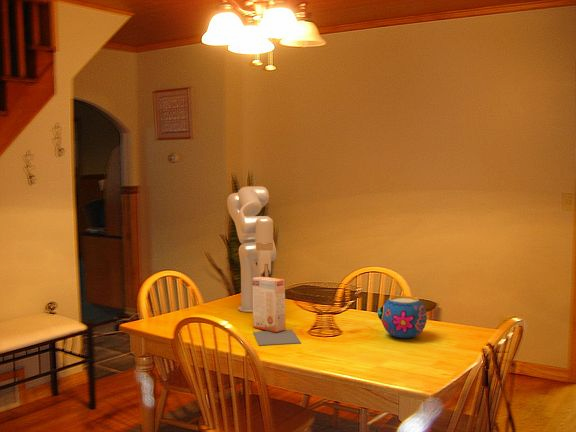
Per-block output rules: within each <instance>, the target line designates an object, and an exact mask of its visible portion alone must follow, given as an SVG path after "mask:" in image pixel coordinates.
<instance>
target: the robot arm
mask: <svg viewBox="0 0 576 432" xmlns="http://www.w3.org/2000/svg"><path fill="white" fill-rule="evenodd" d="M269 201H270V193H269V191H268V189H267V188H266V187H265V186H260V185H257V186H254V185H253V186H248V185H247V186H243V187H241V188H239V189H238V192H233V193H231V194H229V196H227V199H226V203H227V211H228V213H229V215H230V217H231V219H232V220H233V222H234V225H235V228H236V235H237V238H238V240H239V243H240V246H239V247H238V257H239V264H240V294H241V295H240V298H241V299H240V301H241V302H240V303H241V305H238V307H237V310H238V311H240V312H243V313H253V278H255V277H269V278H270V274H271V272H272V262H273V261H275V260H276V258H277V248H276V244H275V241H274V220H273V218H271V217H270V216H268V215H265V216H264V215H260V216H259V213H260V212H261V210H262V208H264V207H265V206H266V205H267V204H268V203H269Z"/></svg>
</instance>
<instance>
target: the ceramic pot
mask: <svg viewBox="0 0 576 432" xmlns="http://www.w3.org/2000/svg"><path fill="white" fill-rule="evenodd" d="M377 317H378V319H379V320H380V322H381V323H382V326H383V327H384V330H385V331H386V332H387V333H388V334H390V336H393V337H396V338H400V339H411V338H414V337H417V336H419V335H420V334H421V333H422V332H423V331H424V329H425V327H426V324H427V319H428V315H427V309H426V307H425V305H424V304H423V301H421V300H420V298H418V297H414V296H410V295H409V296H408V295H407V296H406V295H397V296H391V297H389V298H388V299H387V300H386V301H385V302H384V304H383V305H382V306H380V307H379V308H378V310H377Z"/></svg>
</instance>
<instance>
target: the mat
mask: <svg viewBox="0 0 576 432" xmlns="http://www.w3.org/2000/svg"><path fill="white" fill-rule="evenodd" d="M252 333H253V336H254V338H255V341H256V342H257V345H258V346H259V347H262V346H263V347H264V346H281V345H283V346H284V345H297V344H302V341H301V340H300V339H299V337H298V336H297V334H296V333H295V331H294V330H293V329H285V330H284V331H280V332H271V331H267V330H262V331H261V330H258V331H252Z"/></svg>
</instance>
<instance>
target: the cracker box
mask: <svg viewBox="0 0 576 432" xmlns="http://www.w3.org/2000/svg"><path fill="white" fill-rule="evenodd" d="M285 281H286V280H285V279H282V278H275V277H270V276H269V277H255V278H253V312H252V327H253V328H256V329H258V330H262V331H271V332H280V331H284V330H286V282H285Z"/></svg>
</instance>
